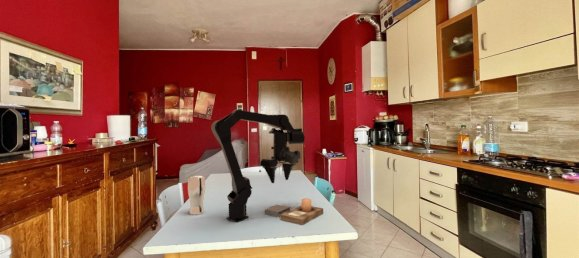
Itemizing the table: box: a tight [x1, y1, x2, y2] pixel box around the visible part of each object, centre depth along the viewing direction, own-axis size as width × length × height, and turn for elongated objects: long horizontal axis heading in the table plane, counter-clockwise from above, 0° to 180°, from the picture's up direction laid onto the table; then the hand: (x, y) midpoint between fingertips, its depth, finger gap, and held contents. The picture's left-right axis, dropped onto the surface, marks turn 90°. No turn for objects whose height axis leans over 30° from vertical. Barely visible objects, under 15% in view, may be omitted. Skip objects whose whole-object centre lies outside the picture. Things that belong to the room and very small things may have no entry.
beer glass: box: [187, 175, 206, 215], centre depth 117 cm, size 7×7×15 cm
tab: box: [264, 204, 291, 218], centre depth 115 cm, size 8×7×2 cm
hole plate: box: [279, 205, 324, 226], centre depth 110 cm, size 16×10×2 cm, turn 145°
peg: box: [300, 198, 312, 213], centre depth 113 cm, size 4×4×6 cm
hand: (280, 181), depth 117 cm, fingers open, 9 cm apart
